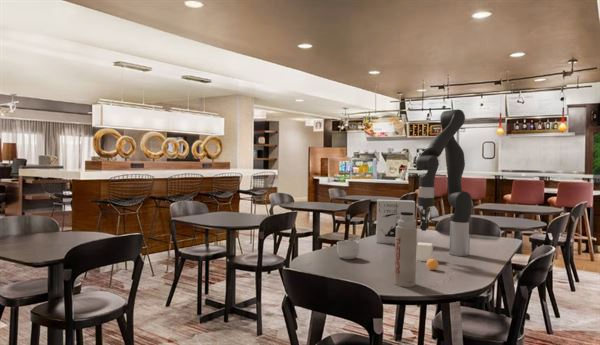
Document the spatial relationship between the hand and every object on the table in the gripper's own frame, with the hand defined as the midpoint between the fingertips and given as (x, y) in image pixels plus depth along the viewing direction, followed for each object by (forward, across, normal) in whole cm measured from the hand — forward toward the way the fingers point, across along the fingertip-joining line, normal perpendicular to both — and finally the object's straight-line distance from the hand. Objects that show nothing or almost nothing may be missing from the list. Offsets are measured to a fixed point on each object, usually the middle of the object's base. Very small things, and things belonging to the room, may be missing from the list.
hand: (424, 229), depth 222 cm
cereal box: (+15, -41, -22) cm, 49 cm away
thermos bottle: (+15, +50, -1) cm, 52 cm away
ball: (+12, +20, +6) cm, 24 cm away
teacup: (+15, +13, -35) cm, 40 cm away
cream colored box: (+15, 0, 0) cm, 15 cm away
